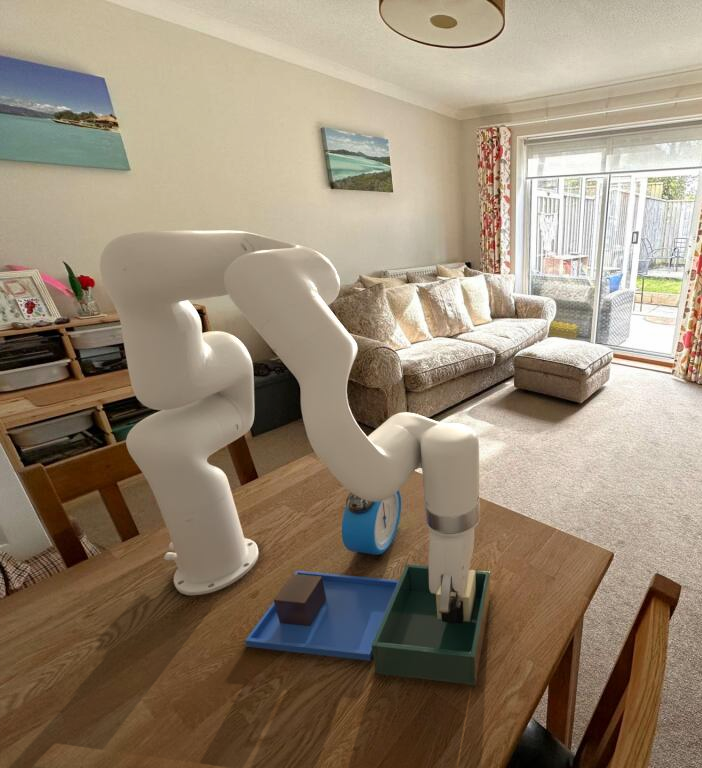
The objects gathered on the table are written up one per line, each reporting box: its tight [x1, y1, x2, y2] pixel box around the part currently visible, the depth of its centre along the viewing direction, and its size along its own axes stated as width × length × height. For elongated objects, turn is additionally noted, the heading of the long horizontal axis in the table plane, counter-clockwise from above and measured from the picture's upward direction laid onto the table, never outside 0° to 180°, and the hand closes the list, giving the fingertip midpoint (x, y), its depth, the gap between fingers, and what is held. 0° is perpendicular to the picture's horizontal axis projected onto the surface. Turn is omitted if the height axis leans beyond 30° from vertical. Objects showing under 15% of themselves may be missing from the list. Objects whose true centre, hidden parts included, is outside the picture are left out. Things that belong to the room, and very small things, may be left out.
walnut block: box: [273, 573, 326, 626], centre depth 64 cm, size 5×5×5 cm
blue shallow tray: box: [244, 570, 399, 662], centre depth 65 cm, size 19×13×2 cm
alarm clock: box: [341, 489, 402, 557], centre depth 77 cm, size 13×6×15 cm, turn 172°
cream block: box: [436, 569, 476, 622], centre depth 62 cm, size 5×5×5 cm
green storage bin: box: [372, 563, 491, 688], centre depth 62 cm, size 14×14×6 cm
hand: (457, 603), depth 63 cm, fingers closed on cream block, 5 cm apart
